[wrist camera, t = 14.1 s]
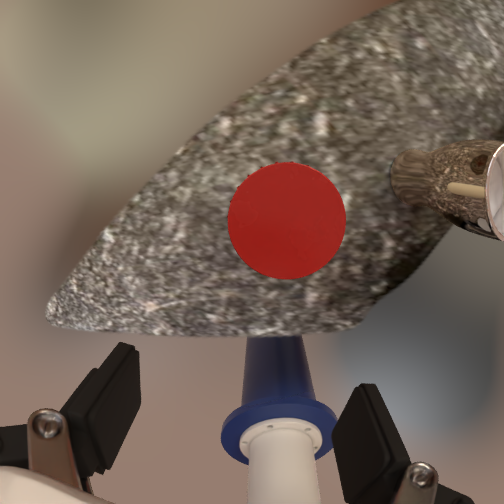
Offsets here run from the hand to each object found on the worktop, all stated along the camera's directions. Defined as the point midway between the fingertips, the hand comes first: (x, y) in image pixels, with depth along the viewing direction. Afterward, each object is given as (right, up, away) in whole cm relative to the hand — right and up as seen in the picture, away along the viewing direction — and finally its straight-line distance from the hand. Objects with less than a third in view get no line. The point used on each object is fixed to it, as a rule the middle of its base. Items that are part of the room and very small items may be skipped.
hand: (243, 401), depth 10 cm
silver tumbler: (+17, +13, +17) cm, 27 cm away
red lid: (+2, +7, +7) cm, 10 cm away
